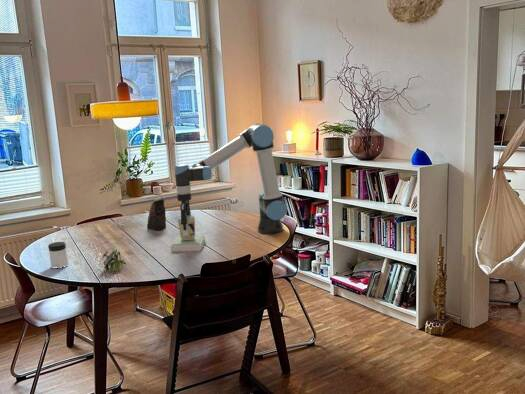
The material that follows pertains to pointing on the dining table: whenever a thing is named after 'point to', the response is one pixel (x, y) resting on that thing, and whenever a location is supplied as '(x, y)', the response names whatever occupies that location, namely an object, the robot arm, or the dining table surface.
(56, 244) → the jar
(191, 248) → the plinth
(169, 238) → the dining table surface
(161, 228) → the owl
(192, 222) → the coffee cup
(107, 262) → the small green plant
